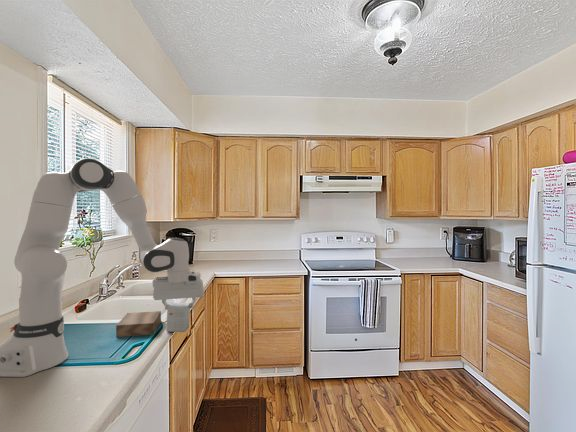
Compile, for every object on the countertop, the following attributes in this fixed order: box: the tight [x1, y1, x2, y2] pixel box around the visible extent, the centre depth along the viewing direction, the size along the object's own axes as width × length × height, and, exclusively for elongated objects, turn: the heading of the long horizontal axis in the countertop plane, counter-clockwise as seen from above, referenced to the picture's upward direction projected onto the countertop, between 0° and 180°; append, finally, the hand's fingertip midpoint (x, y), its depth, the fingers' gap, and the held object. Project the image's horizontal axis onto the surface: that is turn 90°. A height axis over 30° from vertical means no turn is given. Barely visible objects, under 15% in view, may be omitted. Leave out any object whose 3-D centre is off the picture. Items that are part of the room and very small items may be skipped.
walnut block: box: [115, 310, 162, 338], centre depth 131 cm, size 14×14×5 cm
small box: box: [165, 302, 191, 333], centre depth 130 cm, size 8×6×10 cm
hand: (179, 308), depth 130 cm, fingers open, 8 cm apart
